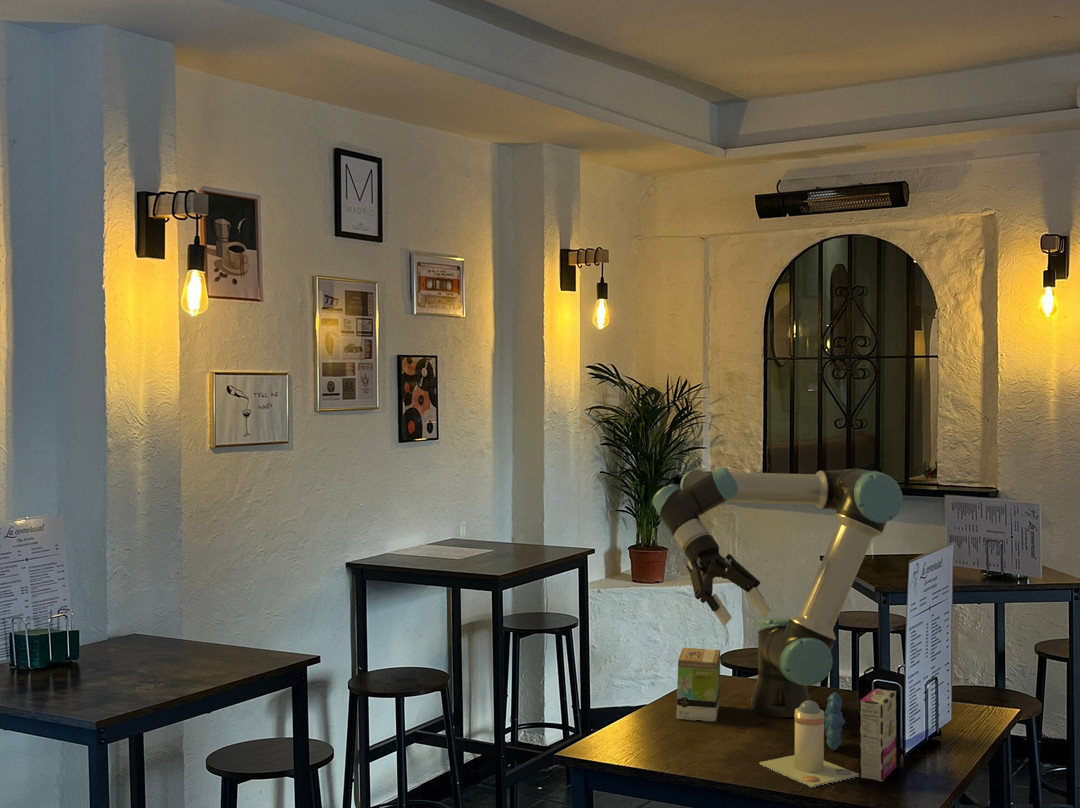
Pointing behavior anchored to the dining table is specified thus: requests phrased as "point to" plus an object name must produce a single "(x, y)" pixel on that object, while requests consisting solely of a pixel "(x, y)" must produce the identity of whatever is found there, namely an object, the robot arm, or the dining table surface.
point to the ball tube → (809, 737)
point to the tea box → (698, 684)
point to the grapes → (833, 721)
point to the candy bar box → (878, 734)
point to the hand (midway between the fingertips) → (747, 617)
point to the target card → (811, 779)
